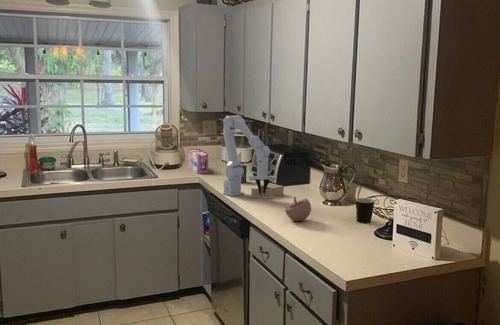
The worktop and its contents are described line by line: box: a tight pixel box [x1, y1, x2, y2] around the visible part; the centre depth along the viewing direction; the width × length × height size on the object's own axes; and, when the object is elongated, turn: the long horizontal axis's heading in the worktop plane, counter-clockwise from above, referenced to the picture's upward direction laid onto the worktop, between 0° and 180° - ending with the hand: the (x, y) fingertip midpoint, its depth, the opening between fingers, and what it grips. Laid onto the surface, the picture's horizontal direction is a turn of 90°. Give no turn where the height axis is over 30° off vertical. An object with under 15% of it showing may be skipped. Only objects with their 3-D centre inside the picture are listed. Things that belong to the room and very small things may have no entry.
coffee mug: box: [355, 197, 375, 224], centre depth 230 cm, size 12×9×10 cm
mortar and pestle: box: [284, 196, 312, 222], centre depth 229 cm, size 12×12×11 cm
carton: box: [260, 182, 285, 198], centre depth 278 cm, size 8×12×5 cm, turn 44°
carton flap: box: [250, 185, 274, 198], centre depth 268 cm, size 12×5×7 cm, turn 85°
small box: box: [233, 164, 247, 184], centre depth 308 cm, size 11×6×10 cm, turn 62°
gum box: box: [187, 148, 209, 175], centre depth 340 cm, size 24×8×14 cm, turn 23°
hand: (261, 193), depth 266 cm, fingers closed
